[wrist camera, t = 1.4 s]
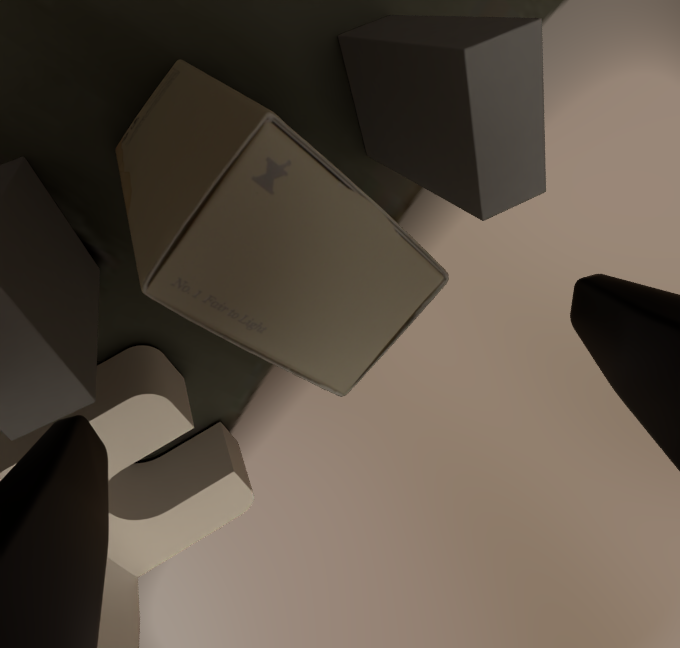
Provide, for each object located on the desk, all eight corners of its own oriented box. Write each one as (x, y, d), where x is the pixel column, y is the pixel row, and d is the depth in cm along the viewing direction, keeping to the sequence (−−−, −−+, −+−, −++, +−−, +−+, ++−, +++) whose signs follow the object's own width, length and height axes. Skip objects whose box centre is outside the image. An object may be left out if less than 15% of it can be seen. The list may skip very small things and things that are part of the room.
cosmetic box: (111, 149, 19) (116, 291, 9) (181, 50, 18) (263, 96, 9) (242, 240, 23) (341, 408, 13) (305, 161, 22) (458, 278, 12)
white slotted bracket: (-224, 547, 22) (-440, 895, 13) (148, 336, 23) (172, 527, 15) (-43, 624, 28) (-110, 900, 19) (246, 452, 29) (304, 636, 20)
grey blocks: (44, 293, 21) (11, 442, 14) (-43, 181, 18) (-144, 296, 11) (412, 136, 23) (546, 192, 16) (390, 14, 20) (542, 17, 13)
